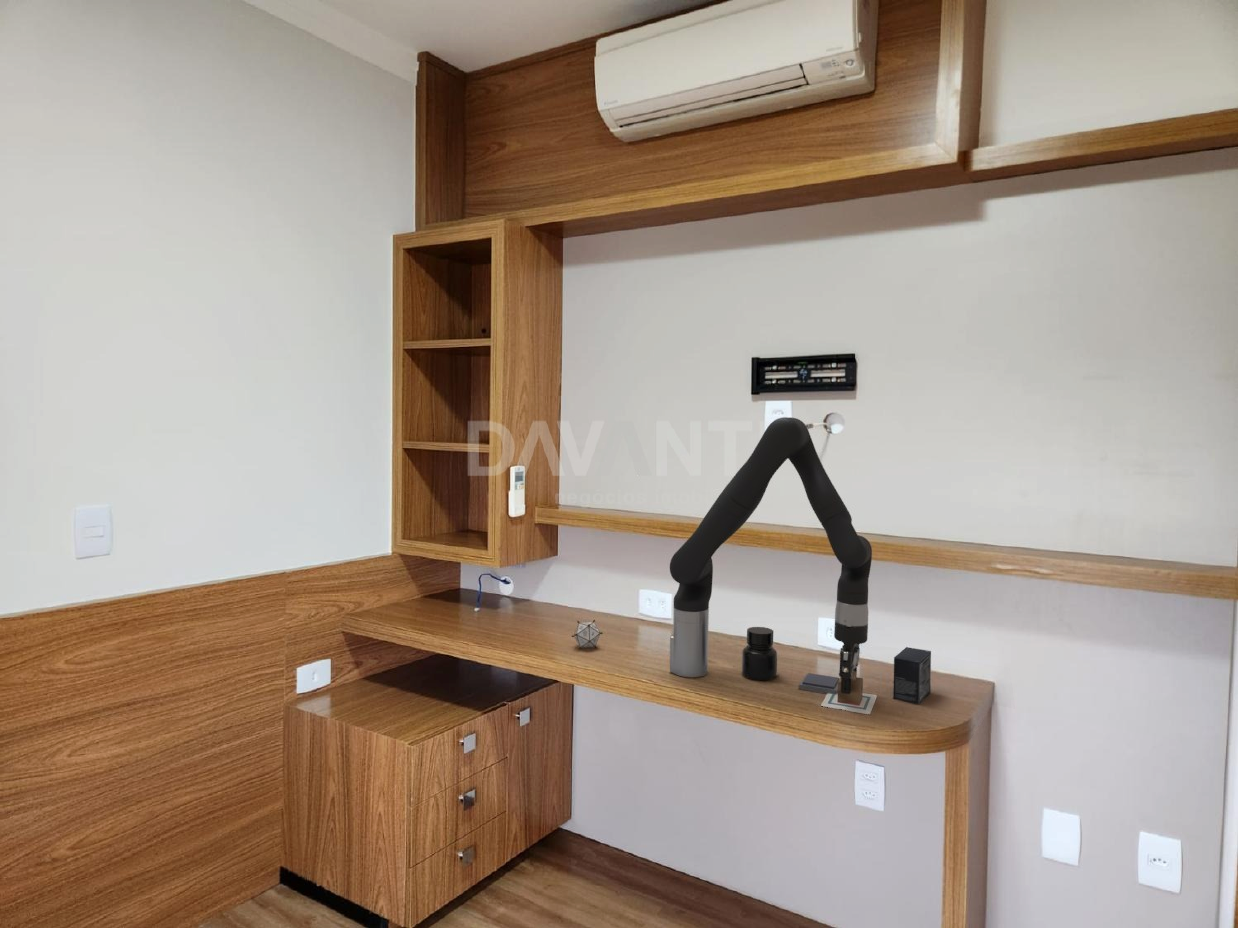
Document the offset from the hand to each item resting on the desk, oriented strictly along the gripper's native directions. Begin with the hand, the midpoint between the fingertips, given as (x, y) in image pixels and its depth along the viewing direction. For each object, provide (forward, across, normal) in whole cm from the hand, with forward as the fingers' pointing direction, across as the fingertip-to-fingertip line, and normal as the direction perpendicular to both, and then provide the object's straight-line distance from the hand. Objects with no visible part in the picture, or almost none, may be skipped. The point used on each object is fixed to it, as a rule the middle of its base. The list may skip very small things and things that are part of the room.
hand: (848, 687), depth 179 cm
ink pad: (+3, -7, -8) cm, 11 cm away
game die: (+4, -8, -75) cm, 75 cm away
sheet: (+3, 0, 0) cm, 3 cm away
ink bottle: (+4, -8, -24) cm, 25 cm away
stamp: (+3, 0, 0) cm, 3 cm away
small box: (+3, -11, +13) cm, 18 cm away
